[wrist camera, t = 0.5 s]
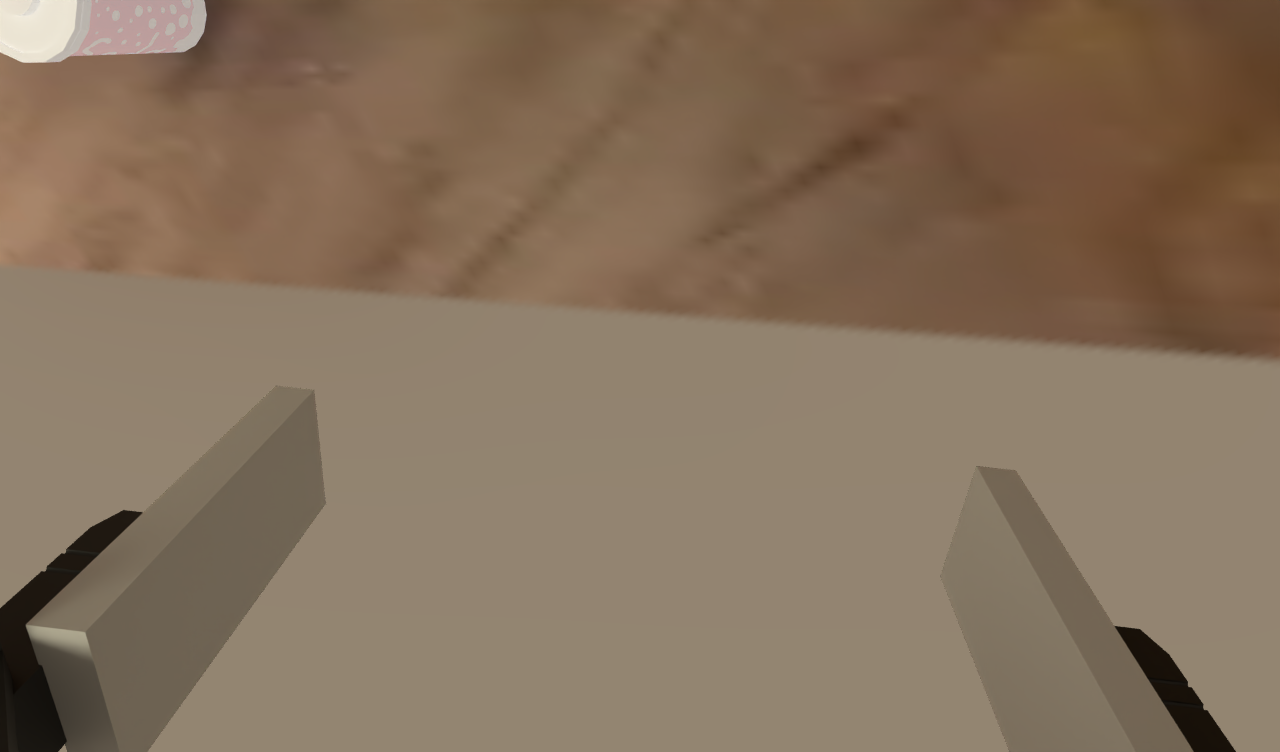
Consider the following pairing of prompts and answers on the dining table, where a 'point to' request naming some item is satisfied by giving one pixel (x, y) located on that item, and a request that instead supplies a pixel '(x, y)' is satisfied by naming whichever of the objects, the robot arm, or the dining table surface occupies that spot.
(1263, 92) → the dining table surface
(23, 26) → the beverage cup
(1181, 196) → the dining table surface
